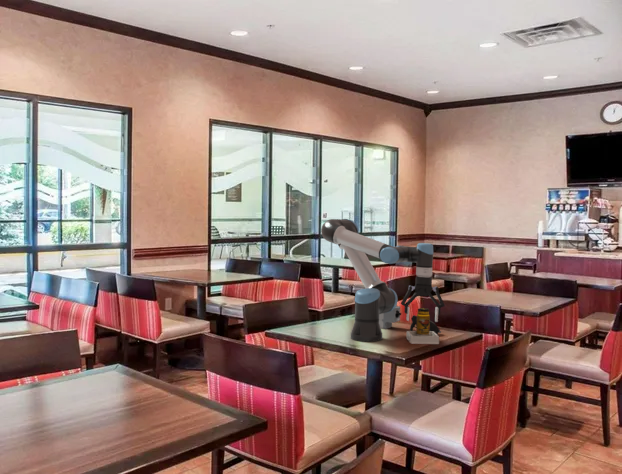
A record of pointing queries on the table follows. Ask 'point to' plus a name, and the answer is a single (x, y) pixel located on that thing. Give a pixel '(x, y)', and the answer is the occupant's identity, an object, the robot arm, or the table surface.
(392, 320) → the circuit breaker
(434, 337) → the tray
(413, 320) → the gun
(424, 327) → the condiment
